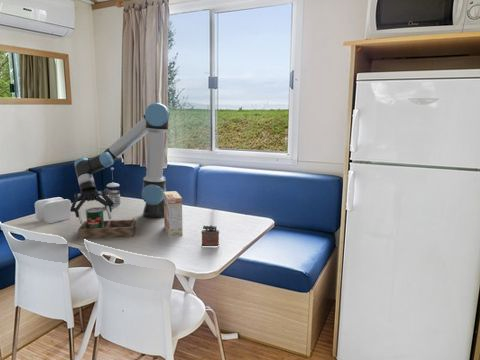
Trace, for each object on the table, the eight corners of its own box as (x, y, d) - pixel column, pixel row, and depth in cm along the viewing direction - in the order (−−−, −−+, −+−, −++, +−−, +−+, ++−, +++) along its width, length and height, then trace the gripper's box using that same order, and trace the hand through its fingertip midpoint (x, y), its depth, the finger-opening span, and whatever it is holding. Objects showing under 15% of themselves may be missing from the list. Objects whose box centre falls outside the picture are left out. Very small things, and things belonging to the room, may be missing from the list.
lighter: (219, 245, 166) (219, 224, 165) (218, 247, 163) (219, 227, 161) (201, 245, 166) (201, 224, 164) (201, 247, 163) (201, 226, 161)
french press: (125, 205, 229) (123, 167, 224) (110, 209, 219) (108, 169, 214) (115, 203, 234) (113, 165, 229) (100, 207, 224) (97, 168, 219)
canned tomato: (89, 234, 173) (88, 212, 171) (85, 230, 179) (84, 209, 177) (106, 231, 177) (105, 210, 175) (101, 227, 184) (100, 206, 181)
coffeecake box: (163, 227, 190) (163, 191, 186) (177, 226, 192) (176, 190, 188) (168, 236, 176) (167, 198, 172) (183, 235, 178) (182, 197, 174)
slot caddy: (135, 227, 188) (135, 219, 187) (132, 236, 175) (132, 227, 174) (85, 229, 183) (84, 221, 183) (78, 238, 171) (77, 229, 170)
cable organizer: (44, 225, 189) (42, 204, 186) (35, 221, 195) (33, 200, 193) (72, 219, 200) (70, 198, 198) (63, 215, 207) (61, 195, 204)
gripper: (110, 186, 194) (120, 219, 185) (59, 191, 180) (67, 228, 171) (113, 178, 188) (123, 212, 179) (60, 183, 174) (68, 220, 165)
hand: (96, 220), depth 175 cm, fingers open, 13 cm apart
